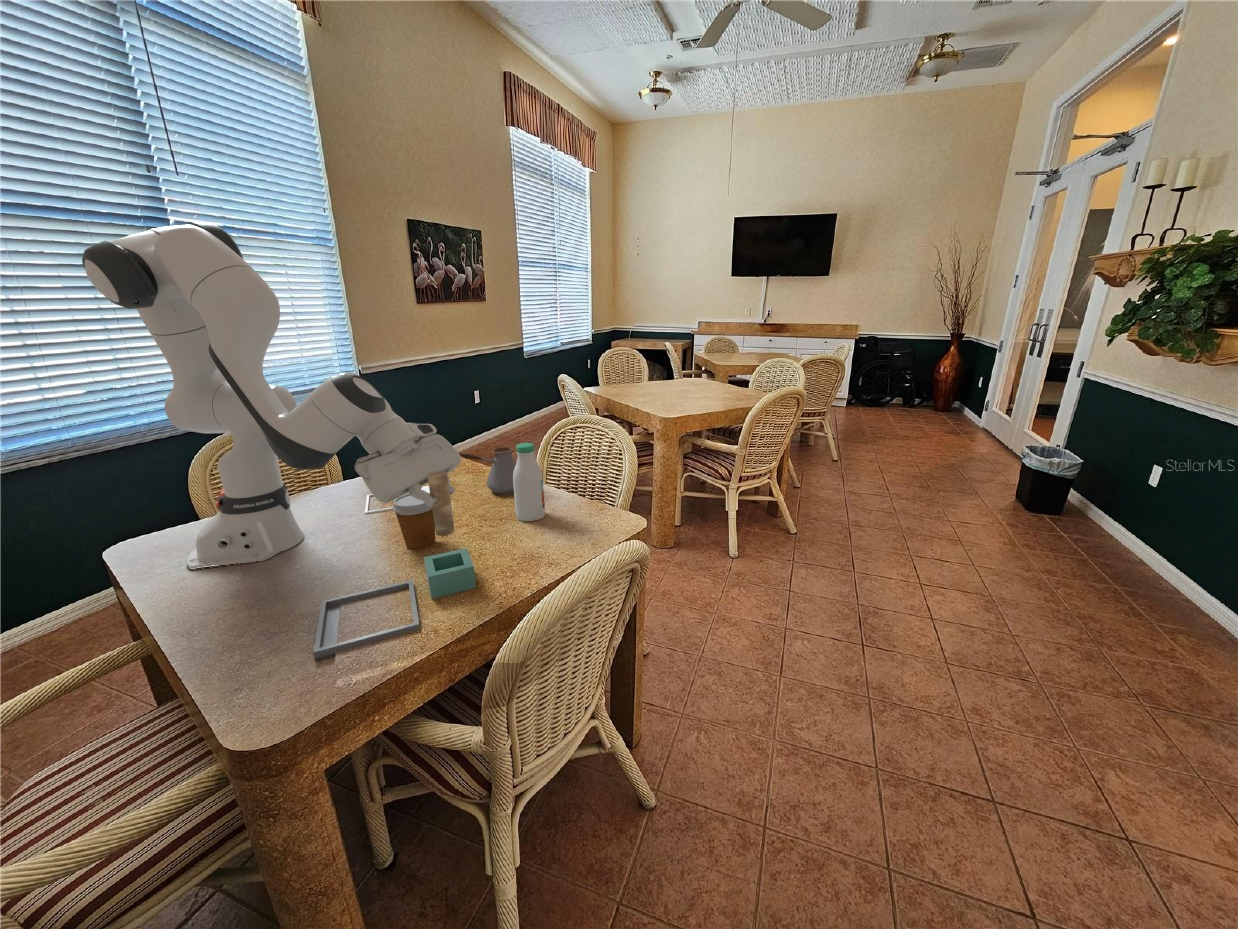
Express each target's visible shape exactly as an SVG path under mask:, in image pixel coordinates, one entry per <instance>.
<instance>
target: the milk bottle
mask: <svg viewBox="0 0 1238 929" xmlns="http://www.w3.org/2000/svg"><path fill="white" fill-rule="evenodd" d="M515 450H516V455H517V460H516V466H515V469H514V472H513V486H514V493H513V495H514V496H513V497H514V506H515V515H516V516H515V517H516V518H517V519H518V520H519V521H521V522H535V520H536V521H539V520H542V519H543V518H544V517H545V515H546V506H545V505H546V504H545V491H544V480H543V478H544V477H543V472H542V469H541V467H540V465H539V464H538V462H537V460H536V457H535V453H536V451H535V445H534V444H533V442H532V443H531V442H521V443H518V444H516V446H515ZM542 517H543V518H542Z"/></svg>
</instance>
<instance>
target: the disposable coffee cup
mask: <svg viewBox="0 0 1238 929" xmlns="http://www.w3.org/2000/svg"><path fill="white" fill-rule="evenodd" d="M429 494H430V493H429ZM391 507H392V509H393V510H392V511H393V512H394V513H395V515H396V519H397V521H398V524H399V528H400V532H401V534H402V536H403V539H404V543H405V546H406V549H408V550H409V549H411V550H420V549H425V548H427V547H430V546H431V545H433V544H436V530H435V523H434V517H433V510H432V506H430V507H428V506H427V505H426V504H425V503H424V501H421V500H419V499H417V498H414V497H412V496H411V495H410V494H409V493H406V494H404V495H402V496H400V497H398V498H396V499H394V500H393V504H392V506H391Z"/></svg>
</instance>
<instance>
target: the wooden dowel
mask: <svg viewBox="0 0 1238 929" xmlns="http://www.w3.org/2000/svg"><path fill="white" fill-rule="evenodd" d="M447 474H448V473H446V472H433V473H430V474H429V475H428V483H427V484H428V486H429V490H430V494H431V493H433V494H434V495H435V497H437V498H438V501H437V502H436V503H435V504H434V505H432V510H433V517H434V523H435V535H437V536H438V537H447V536H450V535H452V534H454V533H455V522H454V515H453V509H452V500H451V495H450V492H449V484H448V477H447Z"/></svg>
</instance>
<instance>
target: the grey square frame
mask: <svg viewBox="0 0 1238 929" xmlns="http://www.w3.org/2000/svg"><path fill="white" fill-rule="evenodd" d="M414 587H415V586H414V581H413V579H412V580H407V581H403V582H399V583H394V584H389V585H385V586H380V587H377V588H372V589H368V590H364V591H359V592H356V593H351V594H346V595H342V596H337V597H334V598H330V599H325V600H324V599H323V600H321V602H320V608H319V615H318V620H317V625H316V626H317V627H316V633H315V638H314V645H313V651H312V653H313V656H314V657H313V658H314V661H315V662H319V661H323V660H326V659H329V658H333V657H336V653H338V652H340V651H341V652H342V651H345V650H349V649H353V648H357V647H358V646H362V645H367V644H370V643H374V642H378V641H381V640H385V639H388V638H392V637H393V638H394V637H395V636H399V635H405V634H407V633H410V632H415V631H418V630H421V626H420V620H419V612H418V607H417V600H416V593H415V588H414ZM407 588H408V589H409V595H410V603H411V610H412V618H413V622H412V623H408V624H405V625H400V626H396V627H392V628H390V629H385V630H381V631H378V632H373V633H371V634H366V635H362V636H359V637H355V638H351V639H347V640H344V641H340V642H338V632H339V624H340V612H341V611H340V610H341V605H342V604H345V603H349V602H354V601H358V600H362V599H367V598H371V597H375V596H380V595H384V594H387V593H392V592H396V591H400V590H404V589H407Z"/></svg>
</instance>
